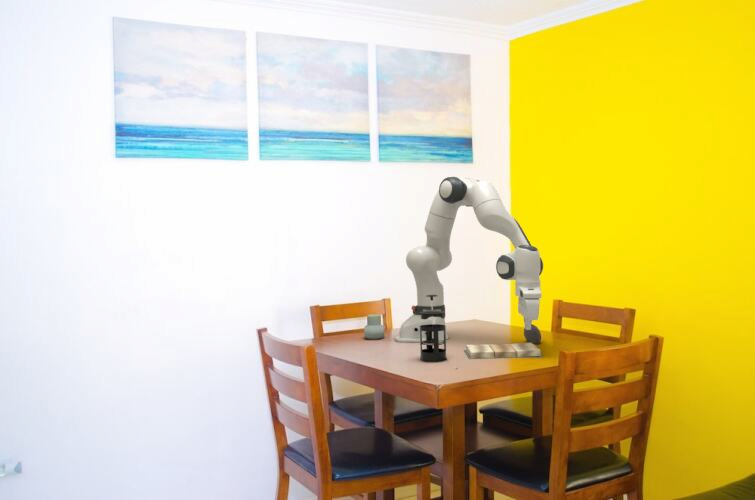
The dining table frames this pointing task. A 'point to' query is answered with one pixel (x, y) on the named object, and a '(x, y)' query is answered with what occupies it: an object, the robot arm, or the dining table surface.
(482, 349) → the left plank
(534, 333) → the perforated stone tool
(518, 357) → the underlay mat
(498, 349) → the fixed plank
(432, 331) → the french press
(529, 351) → the right plank
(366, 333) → the air freshener
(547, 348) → the dining table surface
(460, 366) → the dining table surface
